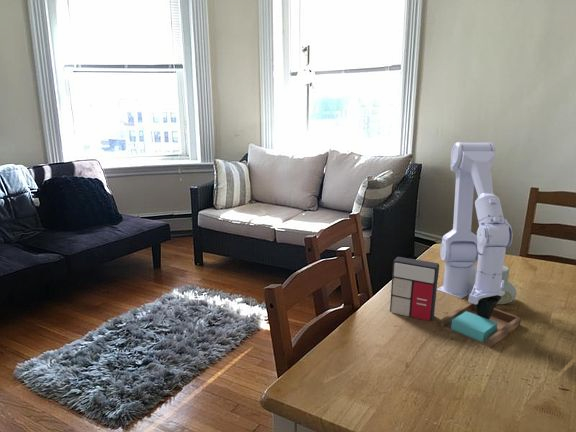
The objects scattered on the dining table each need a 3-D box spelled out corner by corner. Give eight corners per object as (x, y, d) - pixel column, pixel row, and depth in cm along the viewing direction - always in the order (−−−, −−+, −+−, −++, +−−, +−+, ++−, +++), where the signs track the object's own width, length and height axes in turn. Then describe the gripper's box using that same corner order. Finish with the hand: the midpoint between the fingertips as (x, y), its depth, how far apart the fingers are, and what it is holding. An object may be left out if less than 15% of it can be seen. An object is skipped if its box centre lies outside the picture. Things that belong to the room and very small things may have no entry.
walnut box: (471, 308, 121) (472, 300, 121) (519, 326, 112) (521, 317, 112) (440, 328, 111) (441, 319, 111) (490, 349, 102) (491, 339, 102)
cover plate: (465, 319, 114) (466, 311, 114) (496, 332, 109) (497, 322, 108) (451, 329, 110) (452, 319, 109) (482, 342, 104) (483, 332, 104)
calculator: (388, 314, 118) (392, 261, 114) (393, 307, 122) (396, 256, 118) (431, 323, 114) (436, 269, 110) (434, 316, 117) (439, 263, 113)
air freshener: (475, 304, 124) (479, 271, 121) (471, 291, 132) (474, 260, 129) (518, 308, 122) (523, 274, 119) (511, 295, 129) (515, 263, 127)
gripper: (492, 283, 101) (484, 337, 104) (519, 268, 110) (511, 317, 114) (462, 274, 106) (456, 326, 110) (491, 260, 115) (484, 307, 119)
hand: (483, 321), depth 112 cm, fingers closed
